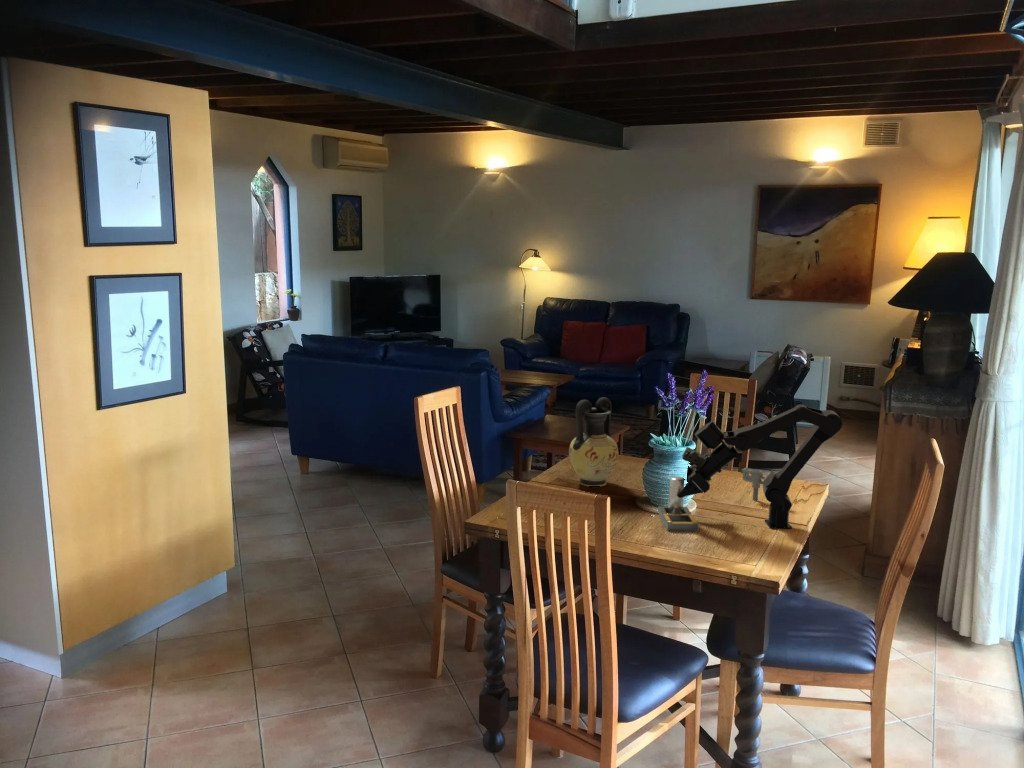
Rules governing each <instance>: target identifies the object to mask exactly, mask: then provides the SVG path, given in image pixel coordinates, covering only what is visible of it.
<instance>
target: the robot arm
mask: <svg viewBox="0 0 1024 768" xmlns="http://www.w3.org/2000/svg"><path fill="white" fill-rule="evenodd" d="M802 421H804V422H807V423H809V424H812V425H813V426H812V428H811V431H810V433H809V434H808V436H807V437H806V439H804V441H803V442H802V443H801V445H800V446H799V447H798V449H797V450H796V451H795V452H794V453H793V455H792V456H791V457H790V458H789V460H788V461H787V462H786V464H785V465H784V466H782V468H781V469H780V470H779V471H777V472H776V473H775V472H774V471H773V470H771V471H770V472H769V473H770V474H769V476H768V477H767V478H766V479H765V480H764V479H763V481H764V485H763V484H762V491H763V494H764V498H765V499H766V500H767V501H768V502H769V509H768V510H769V511H768V519H764V523H765V525H767V526H768V527H769V528H770V529H781V530H784V529H790V530H791V529H793V526H792V525H791V524H790V523H789V519H790V510H791V508H792V506H793V504H792V503H793V502H792V501H791V499H790V497H789V495H788V492H789V491H790V488H791V485H792V483H793V481H794V479H795V478H796V476H797V475H798V474H799V473H800V472H801V471H802V469H803V468H804V467H805V465H806V464H807V463H808V462H809V460H810V459H812V457H813V456H814V454H815V453H816V452H817V450H819V448H820V447H821V446H822V444H823V443H825V442H826V441H828V440H830V439H832V438H833V437H834V436H835V435H836V434H838V433H839V432H840V431H841V430H842V428H843V420H842V418H841V417H840V416H839V415H838V413H836V412H835V411H833V410H830V409H825V410H821V409H818V408H815V407H809V406H806V405H803V404H797V405H796V406H794V407H792V408H791V409H788V410H786V411H784V412H782V413H779V414H777V415H775V416H773V417H770V418H768V419H766V420H764V421H762V422H760V423H756V424H751V425H746V426H742V427H739V428H737V429H735V430H731V431H722V430H721V429H720V428H719V426H718V425H717V423H715V421H714V420H711V421H710V422H708V423H706V424H704V425H702V426H701V427H700V428H698V430H696V431H695V433H694V436H695V437H696V438H697V440H699V441H700V442H701V444H702V445H703V446H704V447H705V448H706V449H708V450H709V449H711V450H712V451H711V452H710V453H709V452H708V453H707V452H706V453H705V454H701V453H700V452H698V451H696V450H695V449H692V448H691V447H689V446H686V448H685V449H684V451H683V453H682V454H681V458H682V460H683V461H685V462H688V464H690V465H691V466H690V467H689V466H688V468H687V467H686V472H687V482H688V483H687V484H686V486H685V487H684V488H683V489H682V490H681V491H680V492H679V493H678V495H677V496H678V497H679V498H682V497H683V498H685V497H688V496H692V495H693V496H694V495H697V494H703V493H704V494H705V493H707V492H708V491H709V490H710V488H711V487H710V486H711V485H710V481H711V480H712V477H714V476H715V475H716V474H717V473H722V469H723V468H724V467H726V466H727V465H728V464H729V463H730V462H732V461H734V459H736V460H737V461H738V462H739V463H742V460H743V459H742V458H743V455H744V453H743V452H745V451H748V450H750V449H751V448H753V447H755V446H756V445H758V444H759V443H760V442H761V441H762V440H763V439H765V438H766V437H768V436H770V435H772V434H775V433H777V432H780V431H782V430H783V429H786V428H788V427H790V426H792V425H794V424H797V423H799V422H802ZM689 462H690V463H689Z"/></svg>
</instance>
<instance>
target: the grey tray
mask: <svg viewBox="0 0 1024 768" xmlns="http://www.w3.org/2000/svg"><path fill="white" fill-rule="evenodd" d="M658 512H659V514H658V515H659V518H660V519H661V522H662V523H663V525H664V527H665V529H666V531H669V532H670V531H671V532H672V531H675V532H679V531H680V532H699V523H698V521H697V520H696V518H695V517H694V515H693V514H692V512H691V511H690V509H689V508H688V507H687V506H683V514H667V513H668V506H664V505H663V506H657V513H658Z"/></svg>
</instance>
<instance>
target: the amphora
mask: <svg viewBox="0 0 1024 768" xmlns="http://www.w3.org/2000/svg"><path fill="white" fill-rule="evenodd" d="M612 408H613V405H612V401H611V400H610V399H609V398H608V397H604V396H603V397H599V398H598V399H597V400H596V401H595V407H593V404H592V402H591V401H590V400H588V399H581V400H579V401H578V402H577V404H576V406H575V425H576V436H575V437H574V438H573V439H572V441H571V442H570V445H569V448H568V457H569V462H570V464H571V467H572V469H573V471H574V472H575V473H576V475H577V476H578V477H579V484H580V485H582V486H585V487H589V486H600V487H604V486H606V485H607V482H608V481H606V479H607V478H608V477H609V476H610V475H611V474H612V472H613V471H614V469H615V467H616V466H617V463H618V459H619V447H618V444H617V442H616V441H615V439H614V438H613V437H612V436H611V420H612ZM584 424H585V425H584ZM584 426H585V427H584Z"/></svg>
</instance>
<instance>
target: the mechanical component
mask: <svg viewBox="0 0 1024 768" xmlns="http://www.w3.org/2000/svg"><path fill="white" fill-rule="evenodd" d="M770 473H771V472H767V474H766V475H763V471H762V470H760V469H756V468H755V469H754V468H751V467H750V468H749V467H744V468H741V469H740V474H742V479H743V481H745V482H749V483H752V485H751V487H752V501H753V500H756V501H758V499H759V488H761V485H762V486H763V485H764V480H765V479H766V478H767V477H768V476H769V474H770Z"/></svg>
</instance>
